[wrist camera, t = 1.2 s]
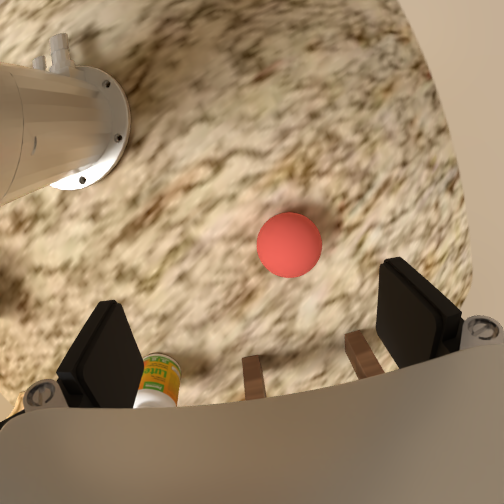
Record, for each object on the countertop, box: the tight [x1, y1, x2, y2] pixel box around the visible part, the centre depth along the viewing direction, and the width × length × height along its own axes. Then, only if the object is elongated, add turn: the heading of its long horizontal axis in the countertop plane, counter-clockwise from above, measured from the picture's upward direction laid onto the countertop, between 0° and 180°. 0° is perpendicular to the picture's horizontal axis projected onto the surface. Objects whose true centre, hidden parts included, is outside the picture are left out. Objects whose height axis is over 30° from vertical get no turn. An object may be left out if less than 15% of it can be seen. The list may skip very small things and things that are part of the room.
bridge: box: [242, 330, 385, 401], centre depth 34 cm, size 3×15×10 cm, turn 102°
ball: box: [257, 212, 322, 278], centre depth 29 cm, size 6×6×6 cm
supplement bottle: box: [133, 354, 181, 408], centre depth 33 cm, size 5×5×10 cm
